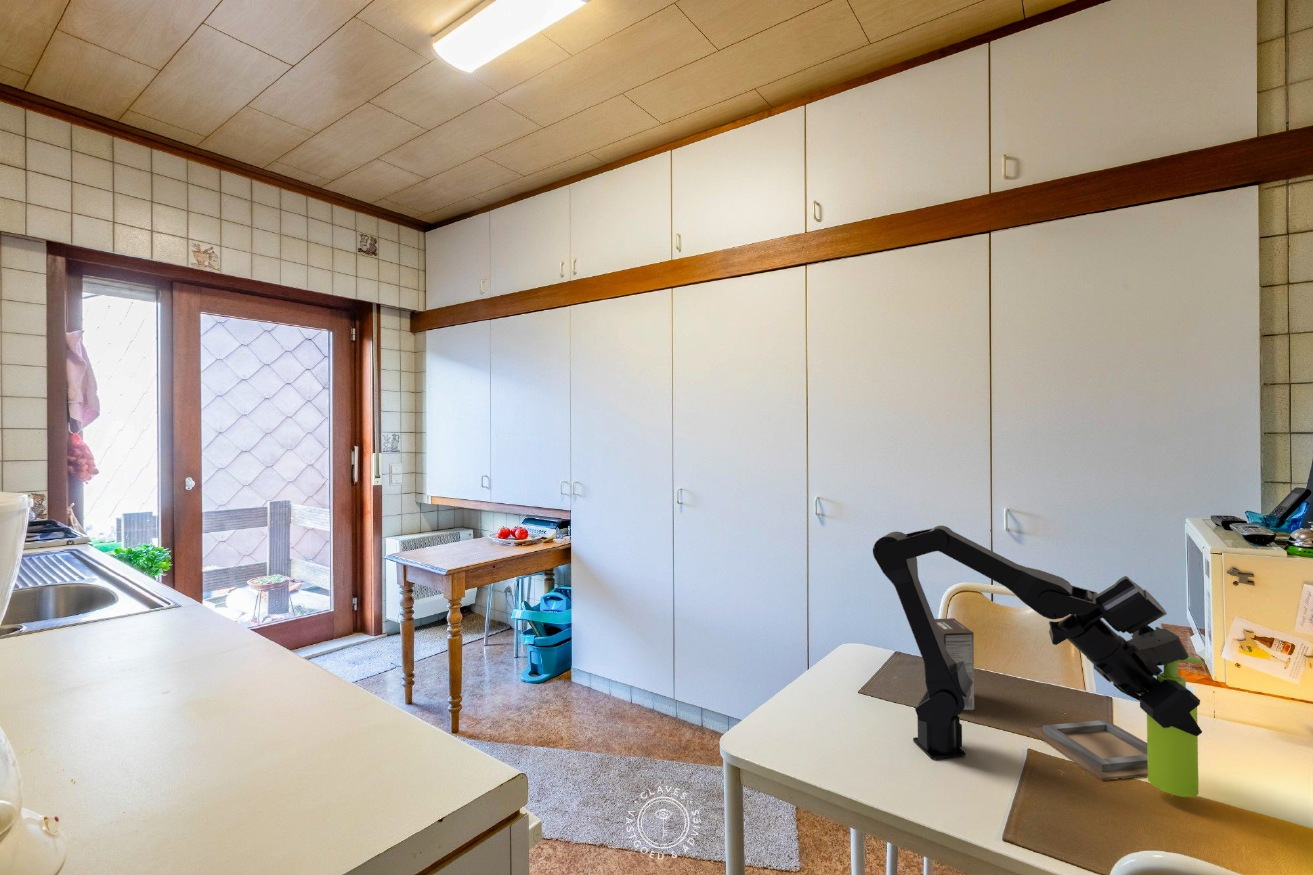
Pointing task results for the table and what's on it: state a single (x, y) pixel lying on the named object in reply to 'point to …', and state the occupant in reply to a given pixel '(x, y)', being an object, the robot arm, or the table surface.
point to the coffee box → (959, 648)
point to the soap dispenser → (1173, 748)
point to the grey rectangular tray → (1098, 748)
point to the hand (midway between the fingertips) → (1186, 723)
